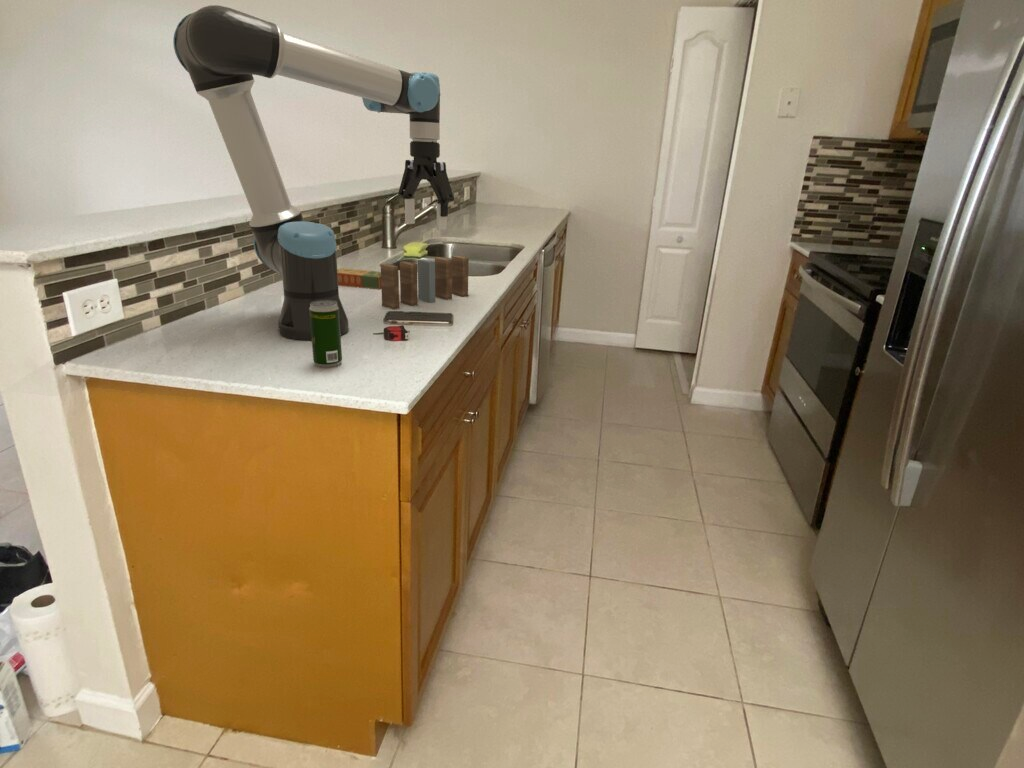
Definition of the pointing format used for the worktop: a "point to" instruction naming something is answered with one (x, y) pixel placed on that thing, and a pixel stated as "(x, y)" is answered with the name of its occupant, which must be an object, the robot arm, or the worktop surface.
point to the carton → (359, 278)
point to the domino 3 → (426, 280)
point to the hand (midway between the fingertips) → (425, 226)
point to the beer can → (325, 333)
